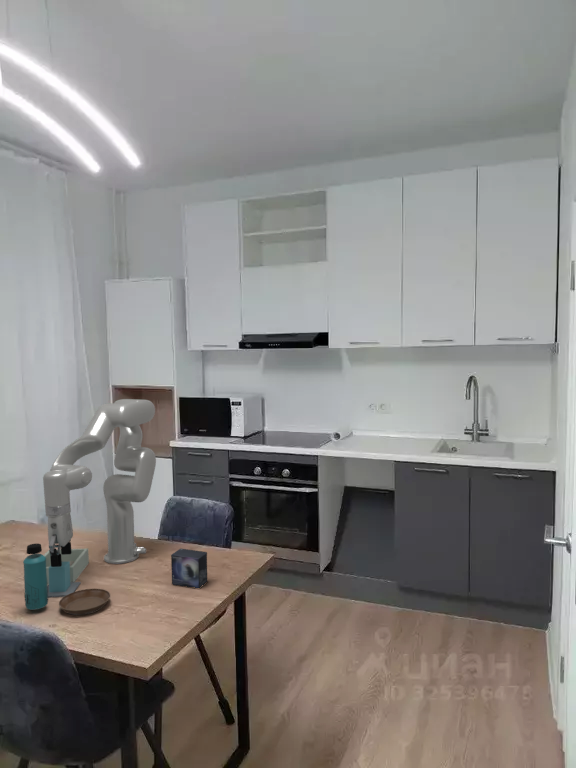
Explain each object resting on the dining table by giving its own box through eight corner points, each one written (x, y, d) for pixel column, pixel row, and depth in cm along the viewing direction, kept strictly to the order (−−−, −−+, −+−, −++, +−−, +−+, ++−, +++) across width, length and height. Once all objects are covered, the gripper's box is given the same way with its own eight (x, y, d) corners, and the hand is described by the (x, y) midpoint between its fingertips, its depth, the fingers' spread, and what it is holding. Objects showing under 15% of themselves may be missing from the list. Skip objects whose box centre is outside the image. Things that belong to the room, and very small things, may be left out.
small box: (170, 585, 185) (169, 554, 184) (180, 577, 191) (180, 547, 190) (198, 589, 181) (198, 558, 180) (208, 582, 187) (207, 551, 187)
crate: (88, 563, 205) (88, 548, 205) (73, 583, 187) (72, 567, 187) (49, 564, 204) (49, 549, 204) (30, 584, 186) (29, 568, 186)
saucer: (65, 623, 160) (65, 614, 159) (54, 604, 172) (53, 596, 172) (117, 609, 168) (116, 600, 168) (102, 592, 180) (102, 584, 180)
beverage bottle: (53, 606, 170) (51, 542, 169) (37, 616, 164) (34, 549, 163) (36, 603, 172) (34, 540, 171) (19, 613, 166) (17, 547, 165)
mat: (80, 583, 187) (80, 581, 187) (71, 596, 177) (71, 594, 177) (49, 584, 186) (49, 583, 186) (38, 597, 176) (38, 596, 176)
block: (70, 585, 184) (69, 561, 184) (65, 591, 179) (64, 567, 179) (54, 585, 184) (53, 562, 183) (49, 592, 179) (48, 567, 178)
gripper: (61, 517, 172) (64, 570, 174) (78, 500, 189) (81, 549, 191) (36, 518, 171) (40, 572, 173) (55, 501, 189) (58, 550, 190)
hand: (61, 560), depth 182 cm, fingers open, 9 cm apart
